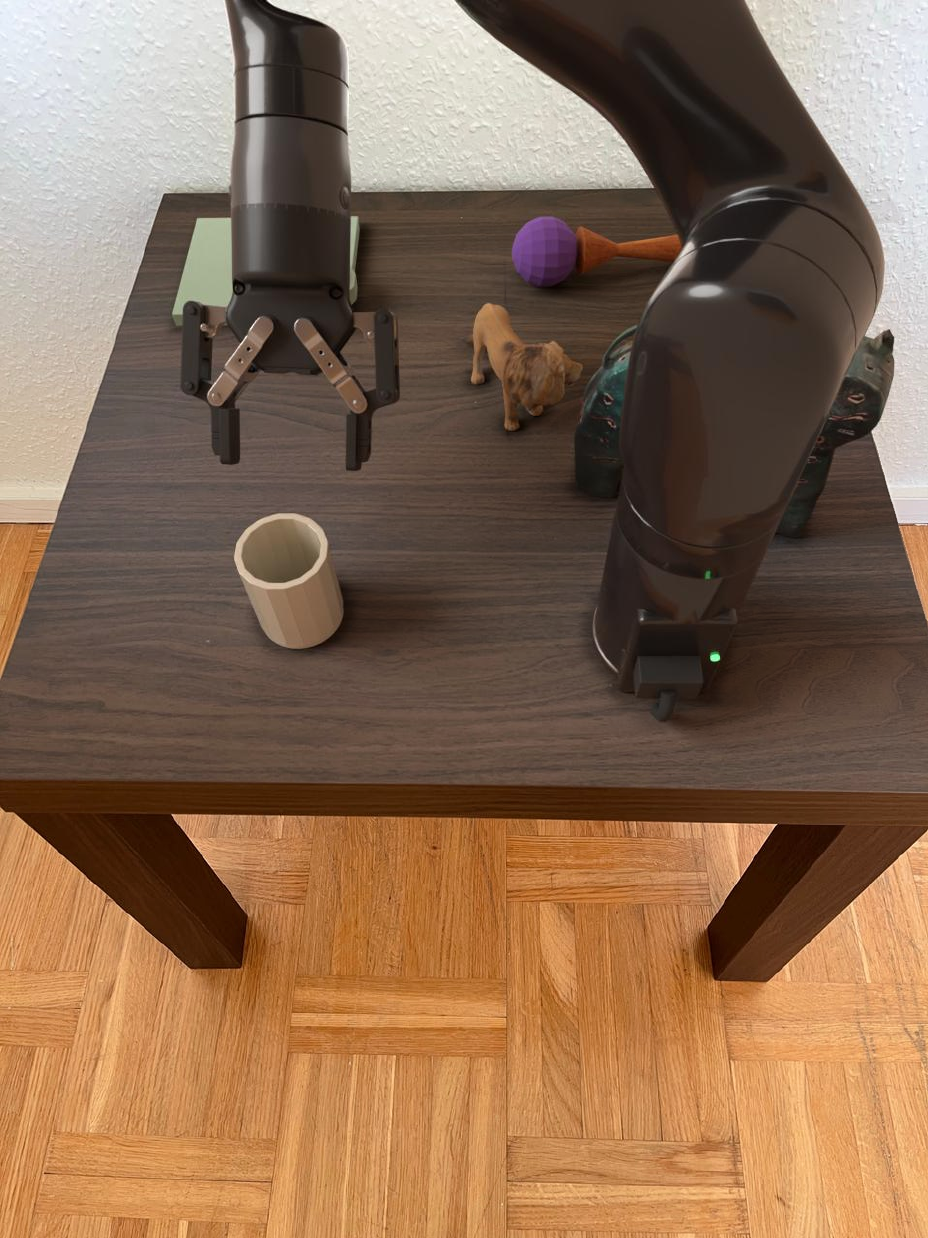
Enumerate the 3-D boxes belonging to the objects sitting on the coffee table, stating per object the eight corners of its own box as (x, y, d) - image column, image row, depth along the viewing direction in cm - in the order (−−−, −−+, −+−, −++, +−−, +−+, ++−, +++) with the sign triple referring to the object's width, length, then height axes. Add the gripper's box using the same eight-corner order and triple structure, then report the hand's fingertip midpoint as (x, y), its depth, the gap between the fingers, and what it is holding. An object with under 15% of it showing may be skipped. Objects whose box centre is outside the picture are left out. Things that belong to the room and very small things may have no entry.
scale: (356, 330, 83) (352, 303, 81) (174, 332, 84) (164, 305, 81) (367, 228, 91) (363, 200, 88) (200, 230, 91) (192, 202, 89)
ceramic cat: (825, 500, 72) (930, 291, 55) (817, 565, 69) (926, 365, 52) (579, 449, 75) (605, 237, 58) (560, 509, 72) (583, 303, 55)
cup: (340, 649, 66) (322, 588, 59) (255, 649, 66) (228, 589, 59) (347, 578, 69) (331, 512, 62) (266, 577, 69) (241, 513, 62)
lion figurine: (583, 432, 76) (594, 350, 68) (531, 460, 75) (536, 379, 67) (484, 332, 83) (484, 246, 75) (435, 356, 81) (430, 271, 74)
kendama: (741, 248, 82) (521, 254, 80) (718, 294, 87) (512, 301, 85) (727, 197, 84) (513, 202, 82) (706, 245, 89) (505, 250, 87)
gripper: (410, 224, 61) (403, 468, 65) (203, 217, 62) (208, 458, 66) (393, 201, 54) (386, 477, 58) (159, 193, 55) (167, 465, 59)
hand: (291, 466), depth 62 cm, fingers open, 8 cm apart
